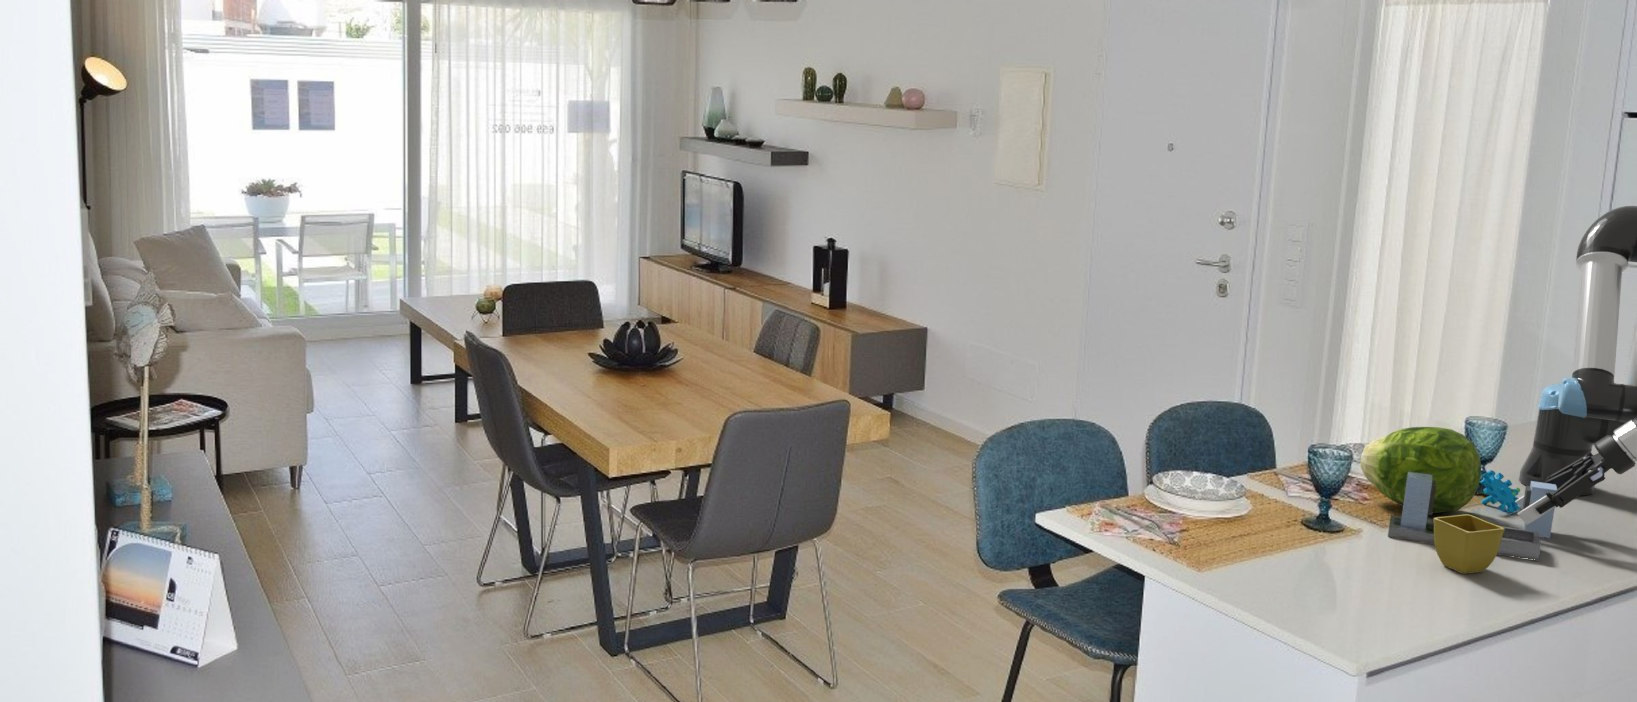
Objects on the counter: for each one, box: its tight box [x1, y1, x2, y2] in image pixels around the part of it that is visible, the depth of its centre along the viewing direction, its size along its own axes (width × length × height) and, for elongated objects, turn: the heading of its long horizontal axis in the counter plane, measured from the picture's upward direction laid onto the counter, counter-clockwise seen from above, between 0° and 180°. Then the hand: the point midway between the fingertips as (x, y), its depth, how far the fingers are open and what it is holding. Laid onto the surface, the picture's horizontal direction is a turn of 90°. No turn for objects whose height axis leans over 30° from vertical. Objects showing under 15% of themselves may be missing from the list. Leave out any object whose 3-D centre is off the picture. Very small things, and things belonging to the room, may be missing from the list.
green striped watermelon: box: [1359, 426, 1482, 514], centre depth 293 cm, size 19×23×18 cm
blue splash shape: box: [1480, 469, 1521, 514], centre depth 298 cm, size 11×6×10 cm
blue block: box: [1521, 481, 1557, 539], centre depth 281 cm, size 4×5×10 cm
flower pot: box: [1433, 513, 1504, 575], centre depth 259 cm, size 9×9×9 cm
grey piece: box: [1387, 472, 1542, 561], centre depth 273 cm, size 9×27×12 cm, turn 66°
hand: (1521, 512), depth 283 cm, fingers open, 8 cm apart
